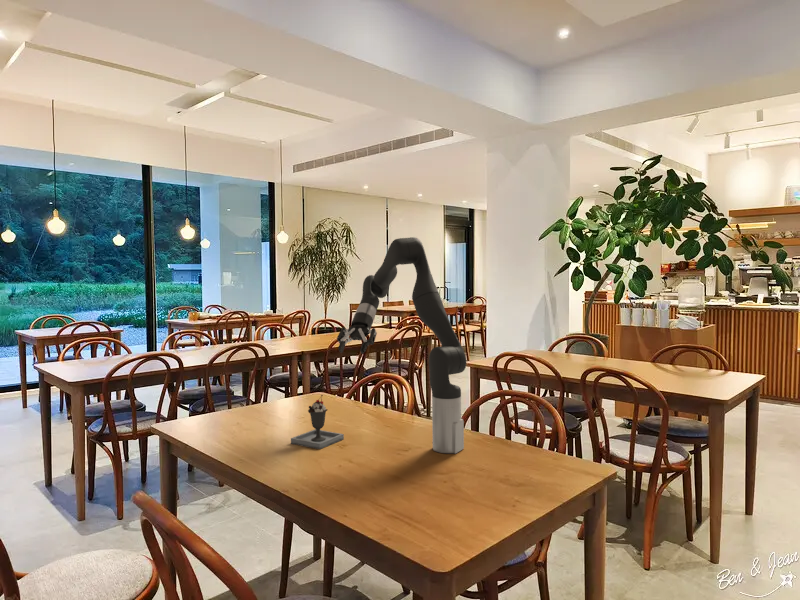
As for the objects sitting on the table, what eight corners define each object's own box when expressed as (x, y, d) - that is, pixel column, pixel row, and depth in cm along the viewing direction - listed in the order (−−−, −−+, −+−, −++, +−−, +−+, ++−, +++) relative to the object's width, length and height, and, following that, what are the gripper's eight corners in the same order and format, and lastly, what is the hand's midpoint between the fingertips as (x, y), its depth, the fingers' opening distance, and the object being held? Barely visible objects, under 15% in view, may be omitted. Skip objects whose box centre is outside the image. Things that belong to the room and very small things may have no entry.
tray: (343, 439, 187) (343, 434, 187) (319, 449, 176) (319, 443, 176) (315, 434, 193) (315, 429, 193) (290, 443, 182) (290, 438, 182)
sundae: (330, 436, 188) (329, 393, 187) (325, 442, 181) (324, 398, 180) (311, 436, 188) (310, 393, 188) (306, 442, 182) (305, 397, 181)
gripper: (344, 311, 207) (329, 344, 196) (378, 311, 201) (365, 346, 191) (350, 323, 212) (337, 357, 202) (384, 324, 206) (372, 359, 196)
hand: (350, 351), depth 196 cm, fingers open, 8 cm apart
